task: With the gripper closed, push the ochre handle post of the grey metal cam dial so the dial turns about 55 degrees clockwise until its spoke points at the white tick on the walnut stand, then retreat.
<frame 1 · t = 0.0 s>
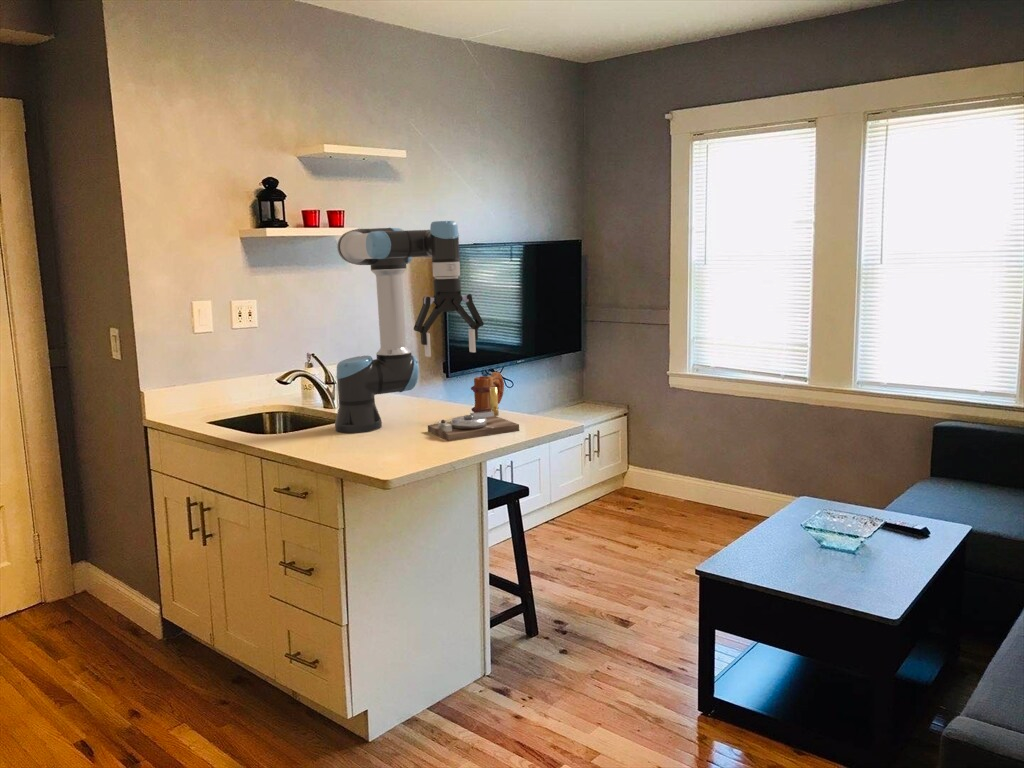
hand: (450, 354, 232), 28 cm above the worktop, fingers open, 13 cm apart
mug: (490, 417, 283), on the worktop
stand: (473, 431, 262), on the worktop
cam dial: (475, 407, 260), point 8 cm above the worktop, hinge at 0.0°
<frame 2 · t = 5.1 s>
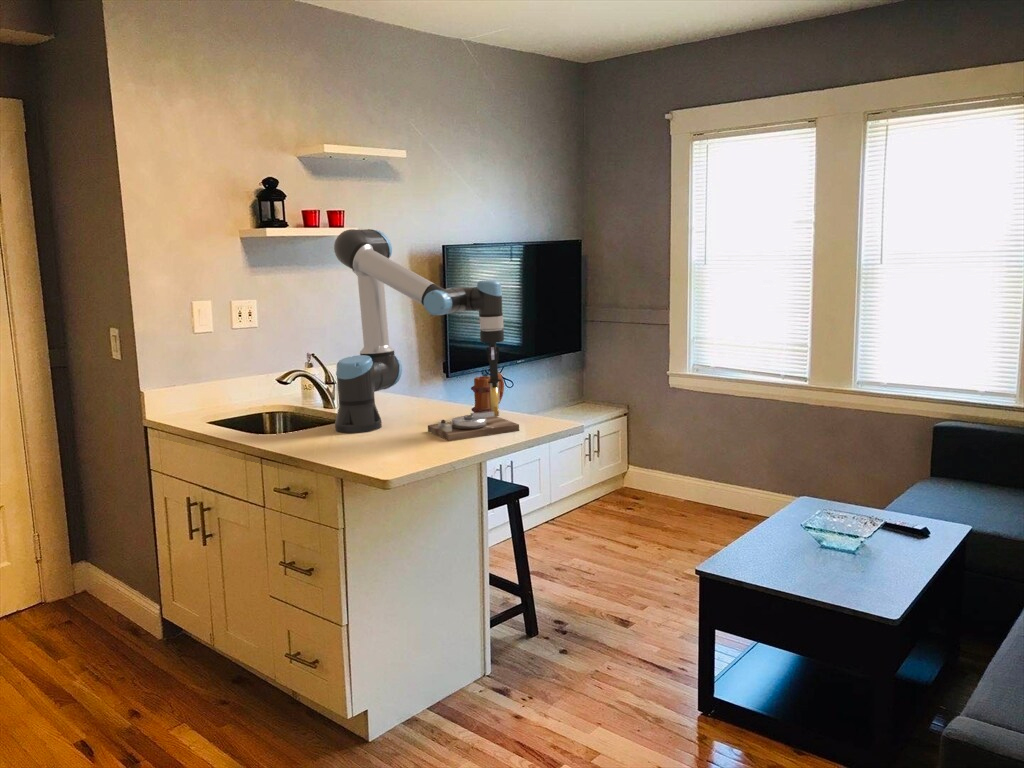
hand: (495, 402, 266), 8 cm above the worktop, fingers closed
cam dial: (475, 407, 260), point 8 cm above the worktop, hinge at -2.7°, touching gripper
everything else where it was.
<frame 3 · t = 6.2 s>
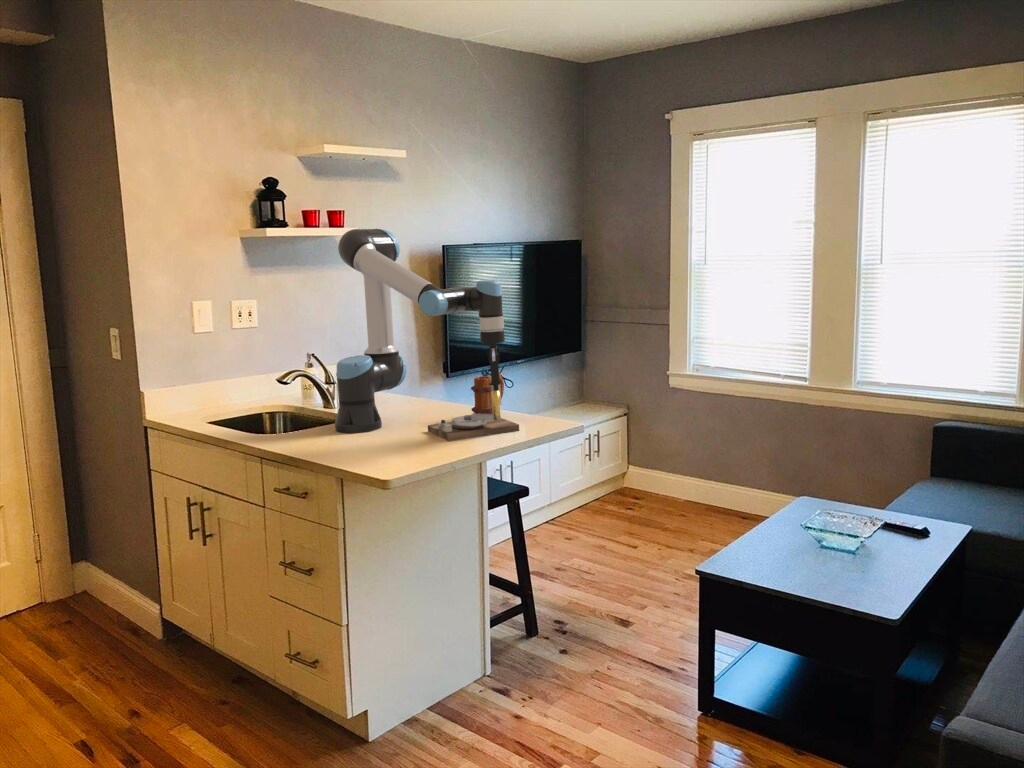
hand: (497, 404, 260), 8 cm above the worktop, fingers closed
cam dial: (475, 408, 258), point 8 cm above the worktop, hinge at -41.0°, touching gripper
everything else where it was.
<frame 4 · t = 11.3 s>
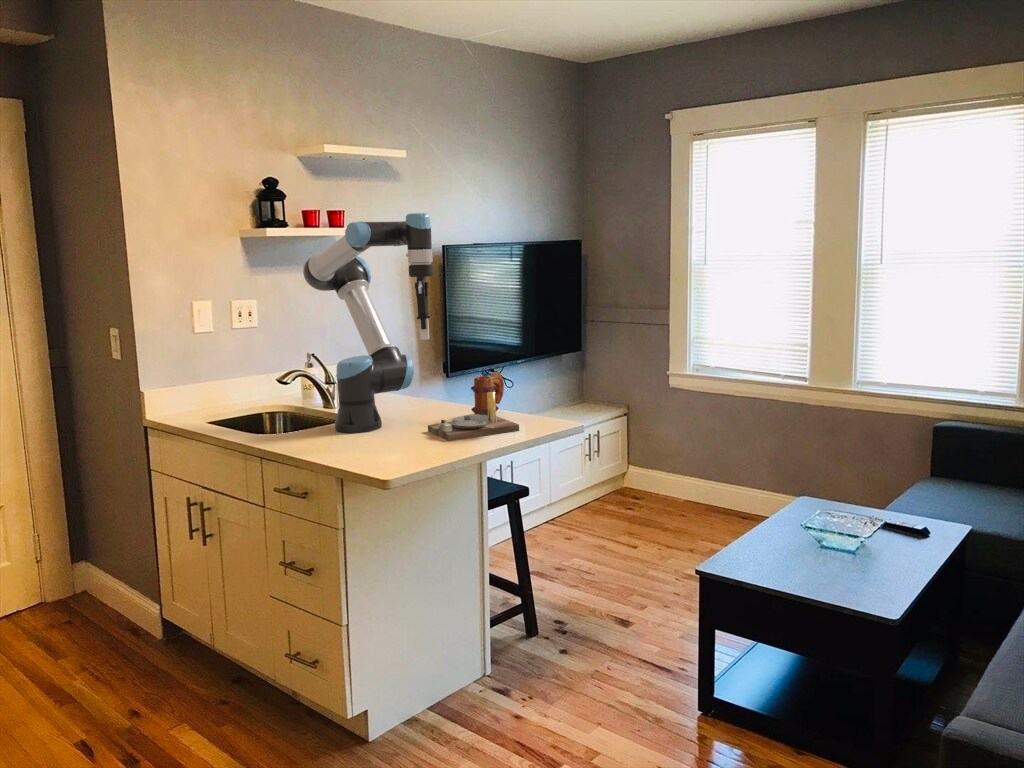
hand: (424, 339, 261), 29 cm above the worktop, fingers closed
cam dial: (474, 408, 258), point 8 cm above the worktop, hinge at -61.7°
everything else where it was.
at the end: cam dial at -62° (first picture: +0°); mug moved 0.2 cm from its start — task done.
